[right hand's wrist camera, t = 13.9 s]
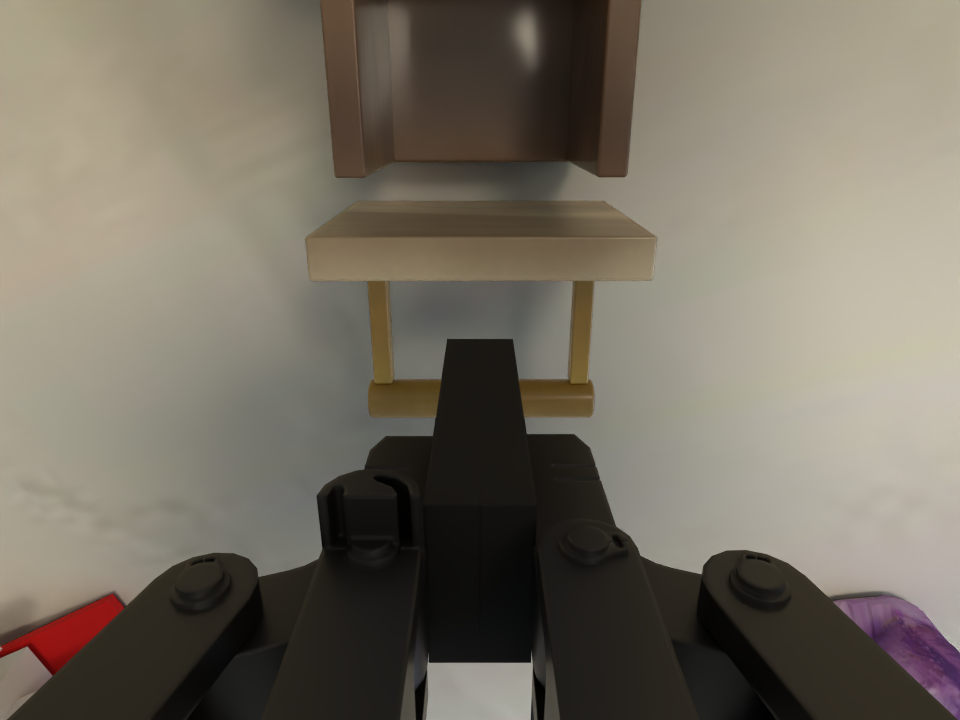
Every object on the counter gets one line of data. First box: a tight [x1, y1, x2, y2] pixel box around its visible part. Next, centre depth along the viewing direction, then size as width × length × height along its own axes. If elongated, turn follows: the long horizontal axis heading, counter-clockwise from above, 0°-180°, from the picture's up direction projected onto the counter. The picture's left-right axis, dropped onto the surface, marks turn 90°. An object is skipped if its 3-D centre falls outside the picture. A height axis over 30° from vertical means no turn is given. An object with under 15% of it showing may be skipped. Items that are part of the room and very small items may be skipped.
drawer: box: [305, 0, 657, 418], centre depth 18 cm, size 22×9×7 cm, turn 0°
